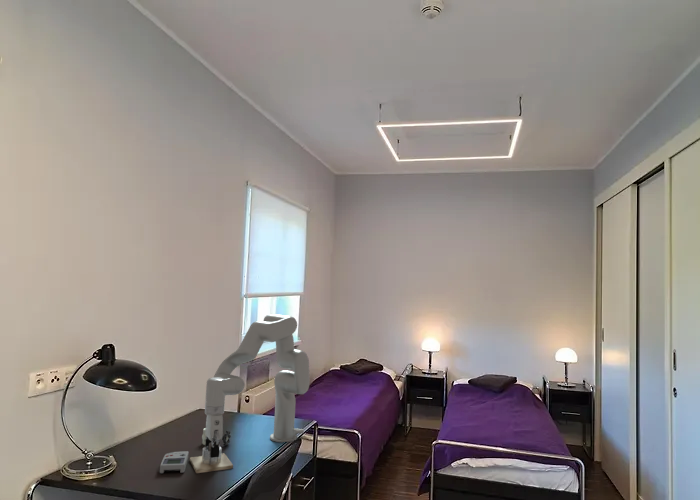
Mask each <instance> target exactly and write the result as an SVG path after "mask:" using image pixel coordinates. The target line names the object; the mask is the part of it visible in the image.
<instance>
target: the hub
mask: <svg viewBox="0 0 700 500" xmlns="http://www.w3.org/2000/svg"><path fill="white" fill-rule="evenodd" d="M222 449H223V448H222V447H221V446H220V449H219V457H214V458H211V450H209V446H206V447H205V446H204V447H203V448H202V455H201V456H202V462H203V463H204V464H208V465H209V464H210V465H212V464H218V463H219V462H221V454H223V453H222Z"/></svg>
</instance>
